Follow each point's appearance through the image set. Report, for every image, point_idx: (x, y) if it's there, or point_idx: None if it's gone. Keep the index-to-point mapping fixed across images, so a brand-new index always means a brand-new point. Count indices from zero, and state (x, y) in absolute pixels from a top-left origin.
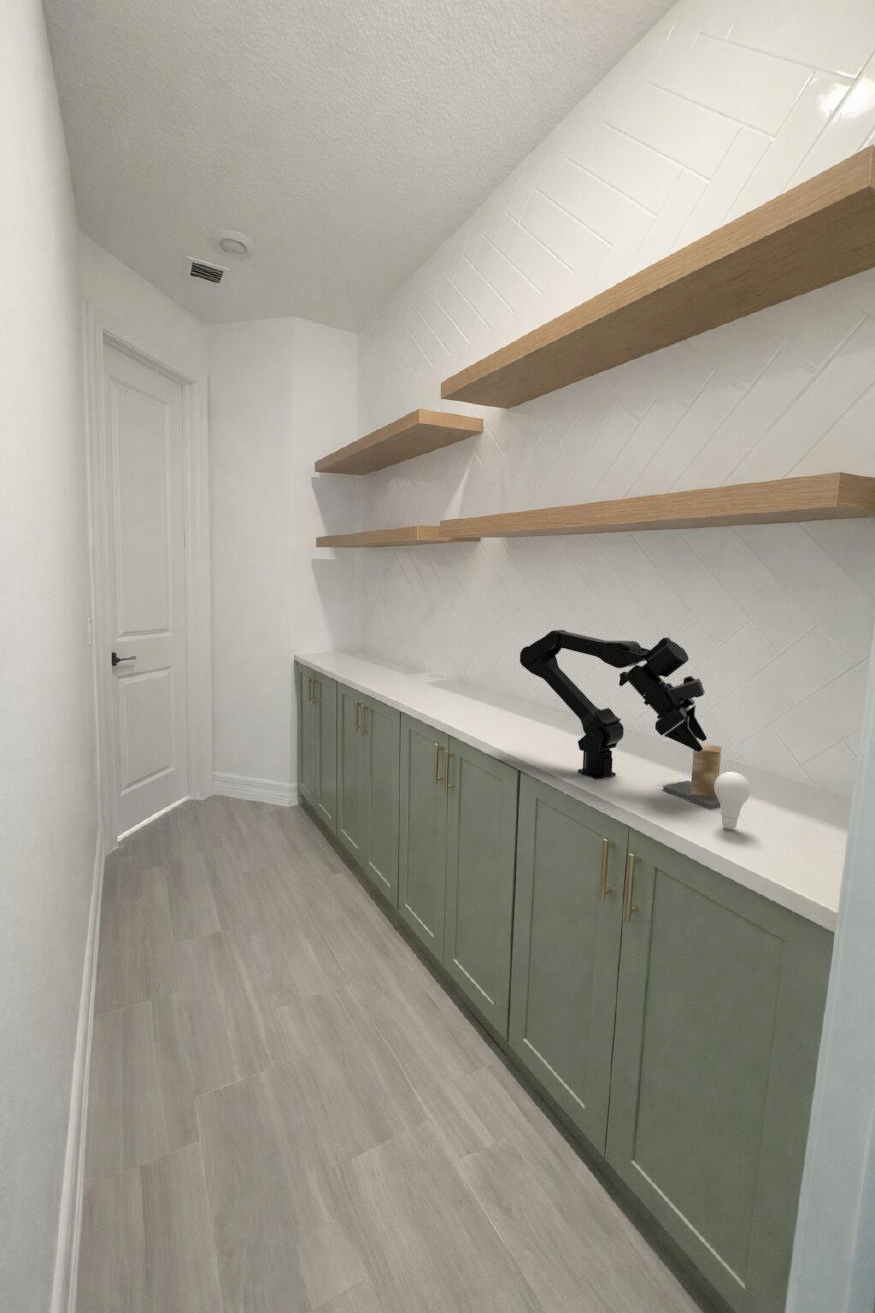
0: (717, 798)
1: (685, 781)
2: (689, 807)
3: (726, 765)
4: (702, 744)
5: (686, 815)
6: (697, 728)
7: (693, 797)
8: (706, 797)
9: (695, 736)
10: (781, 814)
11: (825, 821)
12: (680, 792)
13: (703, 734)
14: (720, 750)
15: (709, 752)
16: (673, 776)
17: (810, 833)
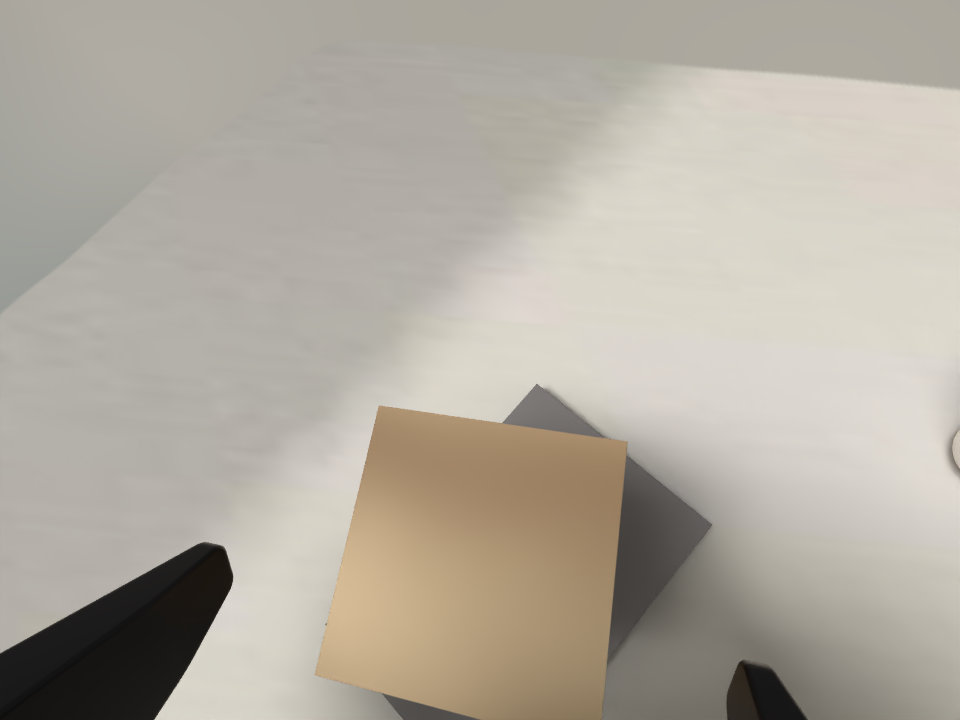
0: None
1: None
2: (735, 649)
3: (4, 384)
4: (353, 602)
5: (894, 684)
6: (75, 702)
7: (633, 620)
8: None
9: (171, 689)
10: (615, 221)
11: (621, 91)
12: None
13: (177, 592)
14: (505, 425)
15: (616, 548)
16: (207, 695)
17: (797, 143)
